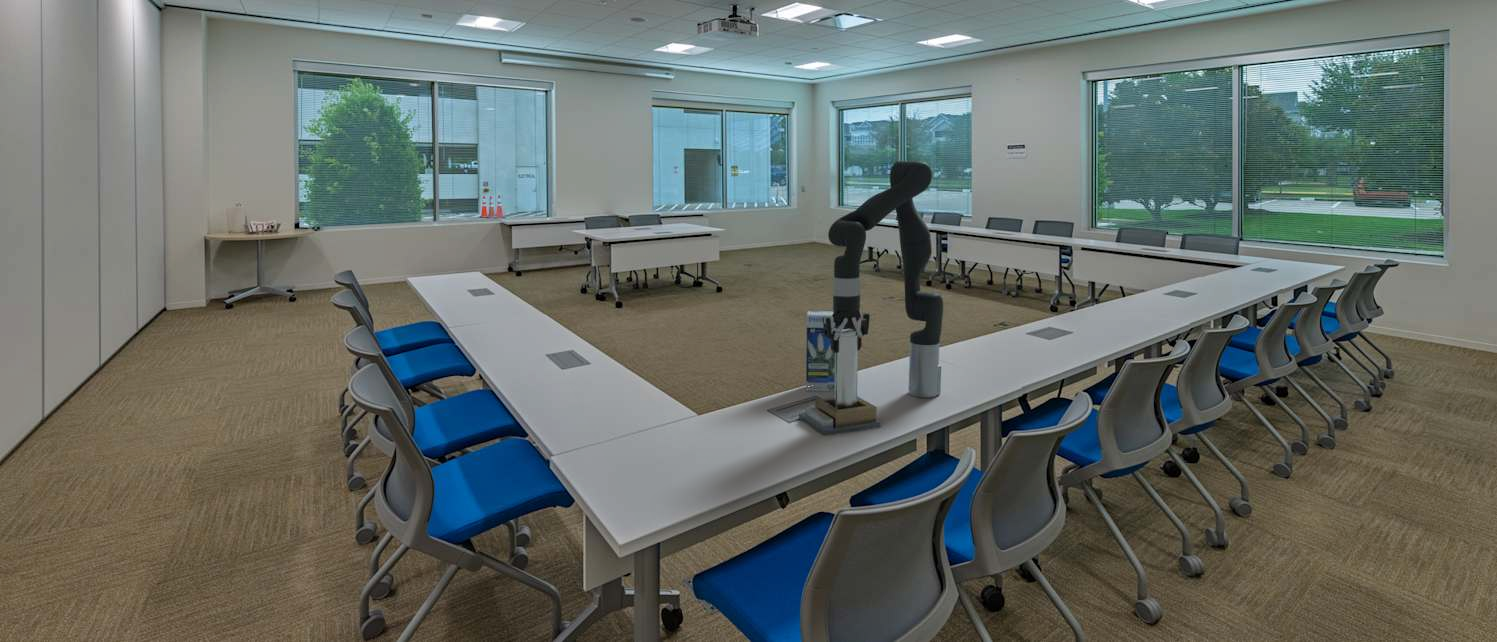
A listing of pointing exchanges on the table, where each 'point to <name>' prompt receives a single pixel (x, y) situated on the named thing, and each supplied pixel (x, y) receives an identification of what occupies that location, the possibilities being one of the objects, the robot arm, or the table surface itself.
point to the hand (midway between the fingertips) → (846, 350)
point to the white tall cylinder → (846, 370)
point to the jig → (840, 417)
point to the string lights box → (819, 354)
